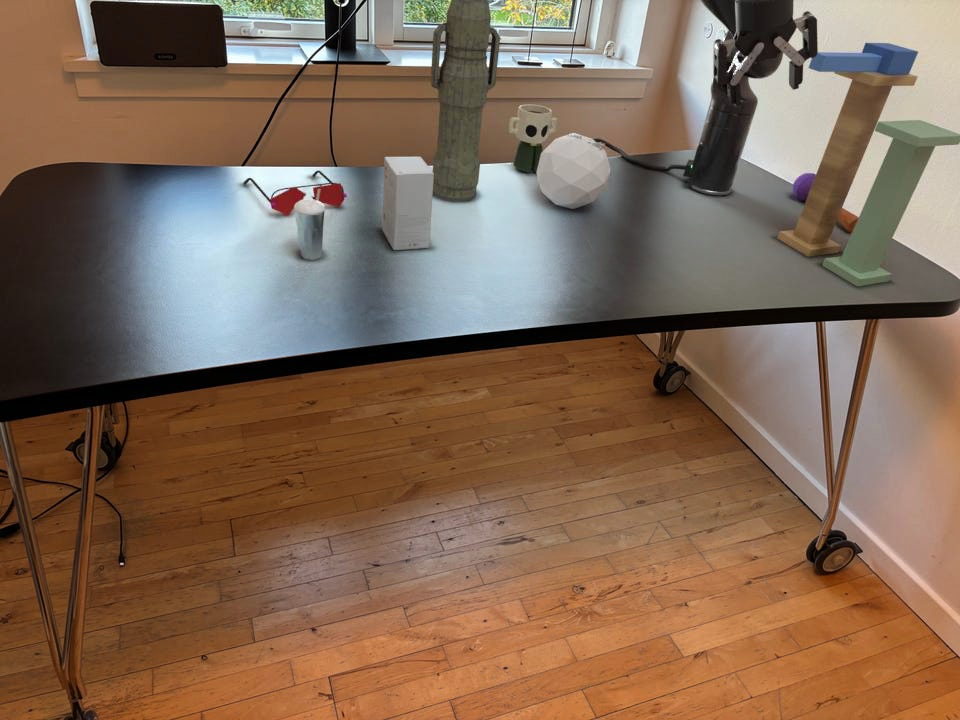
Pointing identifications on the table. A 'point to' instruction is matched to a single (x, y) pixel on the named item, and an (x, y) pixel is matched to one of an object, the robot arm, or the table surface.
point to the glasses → (290, 197)
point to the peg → (867, 60)
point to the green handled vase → (462, 96)
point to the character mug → (531, 134)
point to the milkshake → (310, 226)
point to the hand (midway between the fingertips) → (764, 95)
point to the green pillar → (888, 198)
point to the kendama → (802, 191)
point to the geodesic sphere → (573, 170)
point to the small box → (407, 202)
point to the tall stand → (842, 160)
